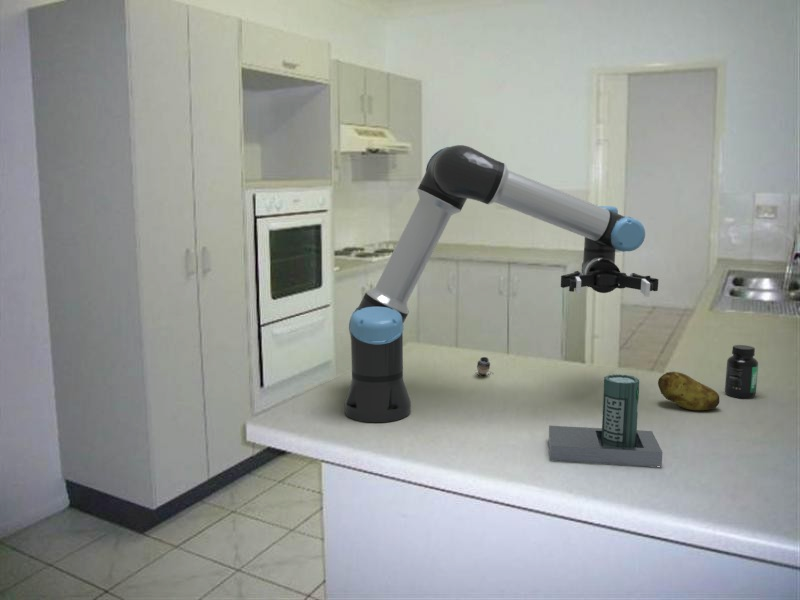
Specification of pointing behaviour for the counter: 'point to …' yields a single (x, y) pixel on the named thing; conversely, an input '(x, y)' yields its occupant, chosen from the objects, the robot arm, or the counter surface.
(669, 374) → the potato
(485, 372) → the vase
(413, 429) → the counter surface
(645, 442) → the grey slab with hole
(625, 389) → the can
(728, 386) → the supplement bottle
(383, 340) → the robot arm
